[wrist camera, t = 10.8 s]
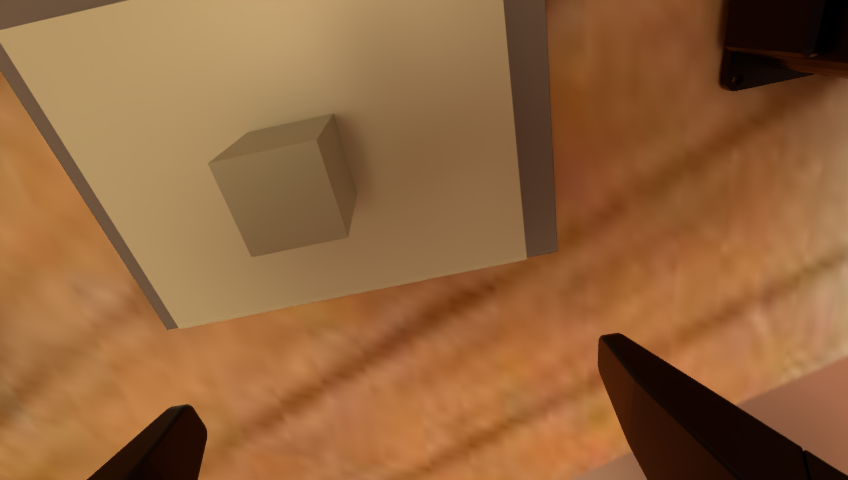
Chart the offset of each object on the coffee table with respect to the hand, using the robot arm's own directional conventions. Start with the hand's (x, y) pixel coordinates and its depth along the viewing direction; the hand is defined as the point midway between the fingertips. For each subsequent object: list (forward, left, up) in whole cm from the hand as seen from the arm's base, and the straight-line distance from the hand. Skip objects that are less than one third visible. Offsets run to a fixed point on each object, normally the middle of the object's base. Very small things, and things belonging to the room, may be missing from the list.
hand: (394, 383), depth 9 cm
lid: (+3, -2, -12) cm, 13 cm away
